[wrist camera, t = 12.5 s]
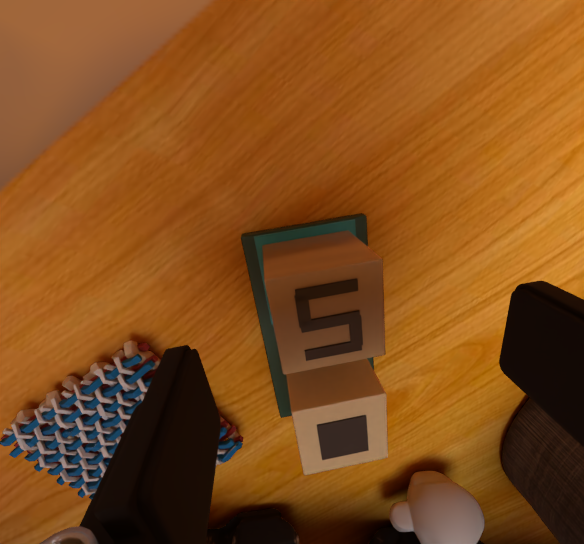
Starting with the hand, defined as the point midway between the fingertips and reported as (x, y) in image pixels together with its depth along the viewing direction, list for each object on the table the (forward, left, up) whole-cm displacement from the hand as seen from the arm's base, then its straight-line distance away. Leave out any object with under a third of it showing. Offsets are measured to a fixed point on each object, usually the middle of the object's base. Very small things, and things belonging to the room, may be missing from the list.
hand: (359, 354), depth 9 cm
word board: (+4, 0, -8) cm, 9 cm away
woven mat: (+9, -13, -8) cm, 18 cm away
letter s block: (+1, 0, -8) cm, 8 cm away
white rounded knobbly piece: (+19, +6, -5) cm, 20 cm away
